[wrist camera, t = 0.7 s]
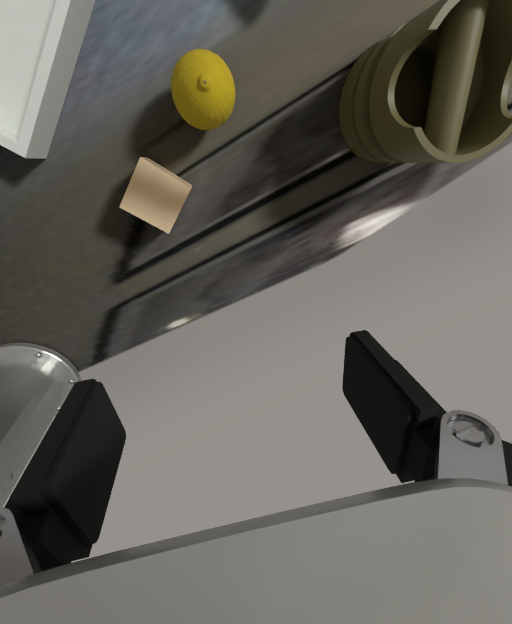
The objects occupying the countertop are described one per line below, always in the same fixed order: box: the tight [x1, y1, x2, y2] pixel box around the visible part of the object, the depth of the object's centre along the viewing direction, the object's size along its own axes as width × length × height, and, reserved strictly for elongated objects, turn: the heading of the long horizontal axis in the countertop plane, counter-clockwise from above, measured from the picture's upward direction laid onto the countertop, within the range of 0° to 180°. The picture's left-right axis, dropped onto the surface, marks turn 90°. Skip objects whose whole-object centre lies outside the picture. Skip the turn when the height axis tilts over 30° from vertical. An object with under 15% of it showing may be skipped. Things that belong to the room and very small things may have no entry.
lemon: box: [171, 49, 235, 130], centre depth 25 cm, size 6×6×8 cm
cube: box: [120, 157, 192, 234], centre depth 30 cm, size 5×5×5 cm
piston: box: [339, 0, 512, 163], centre depth 27 cm, size 11×12×11 cm
